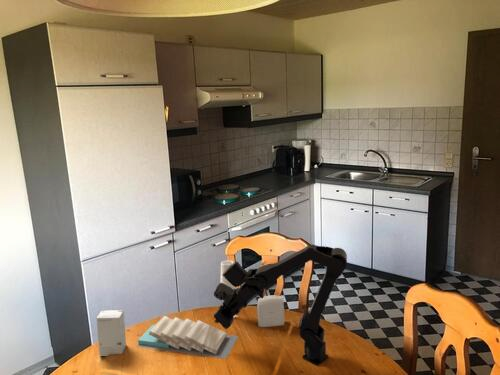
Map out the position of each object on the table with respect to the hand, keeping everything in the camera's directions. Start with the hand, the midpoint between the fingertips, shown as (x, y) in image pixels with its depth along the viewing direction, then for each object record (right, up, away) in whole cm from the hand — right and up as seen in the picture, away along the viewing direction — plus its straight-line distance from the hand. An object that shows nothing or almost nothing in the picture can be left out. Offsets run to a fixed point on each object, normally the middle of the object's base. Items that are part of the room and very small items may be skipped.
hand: (215, 321), depth 145 cm
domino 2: (-11, -8, +5) cm, 15 cm away
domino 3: (-7, -8, +4) cm, 11 cm away
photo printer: (+20, -7, +15) cm, 26 cm away
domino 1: (-15, -8, +6) cm, 18 cm away
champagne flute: (+4, -6, +21) cm, 23 cm away
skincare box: (-37, -12, +2) cm, 38 cm away
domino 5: (+2, -8, +1) cm, 8 cm away
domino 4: (-3, -8, +3) cm, 9 cm away
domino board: (-10, -10, +5) cm, 15 cm away
